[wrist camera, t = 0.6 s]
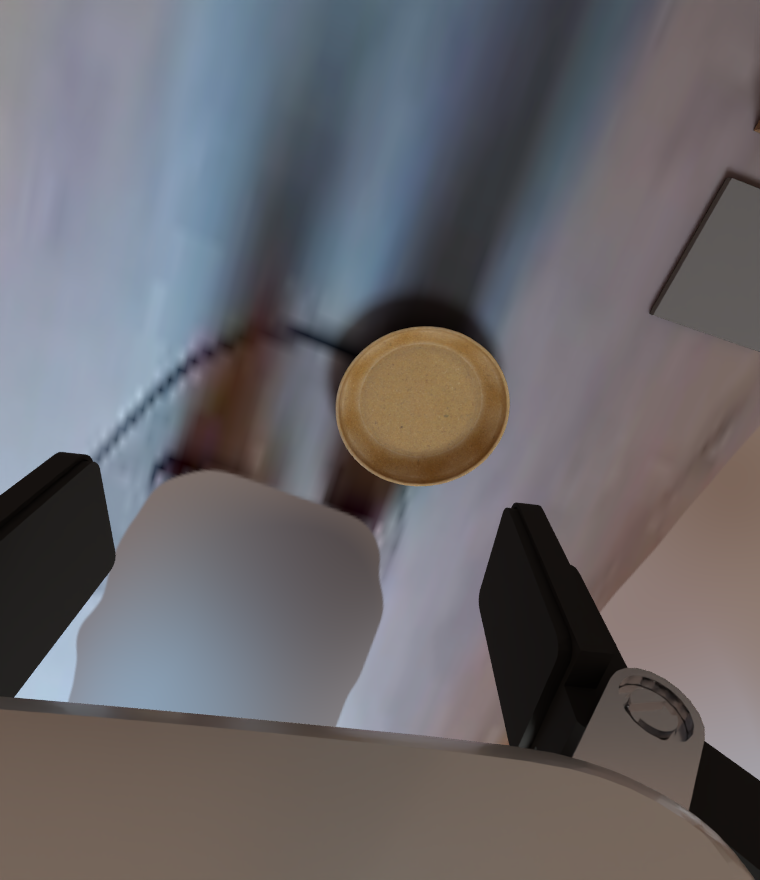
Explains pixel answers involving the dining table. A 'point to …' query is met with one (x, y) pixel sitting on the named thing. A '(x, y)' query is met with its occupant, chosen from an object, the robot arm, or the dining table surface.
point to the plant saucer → (422, 406)
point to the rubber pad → (720, 271)
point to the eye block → (757, 127)
